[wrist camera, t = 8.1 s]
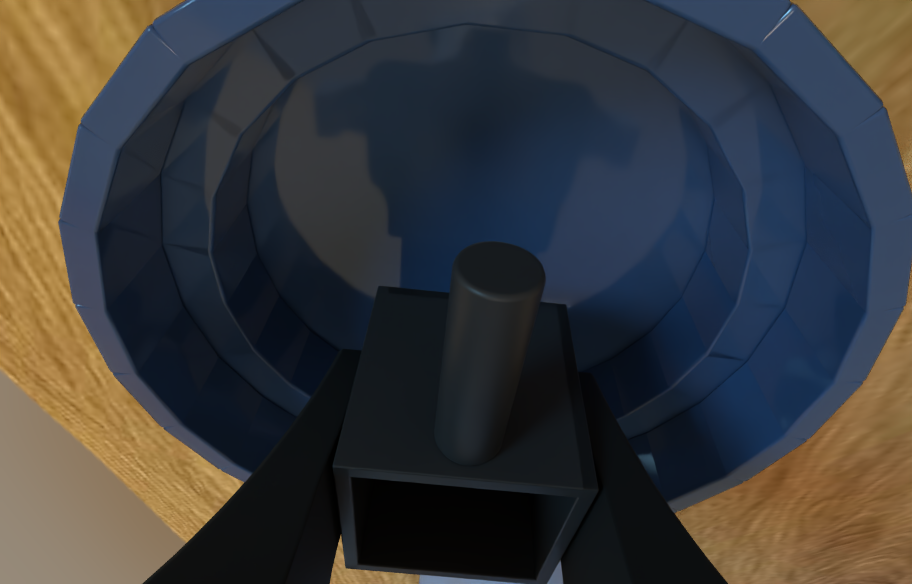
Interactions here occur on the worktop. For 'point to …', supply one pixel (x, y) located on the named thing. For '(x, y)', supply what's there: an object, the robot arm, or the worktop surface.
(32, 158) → the worktop surface
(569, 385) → the scoop
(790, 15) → the bowl
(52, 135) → the worktop surface
